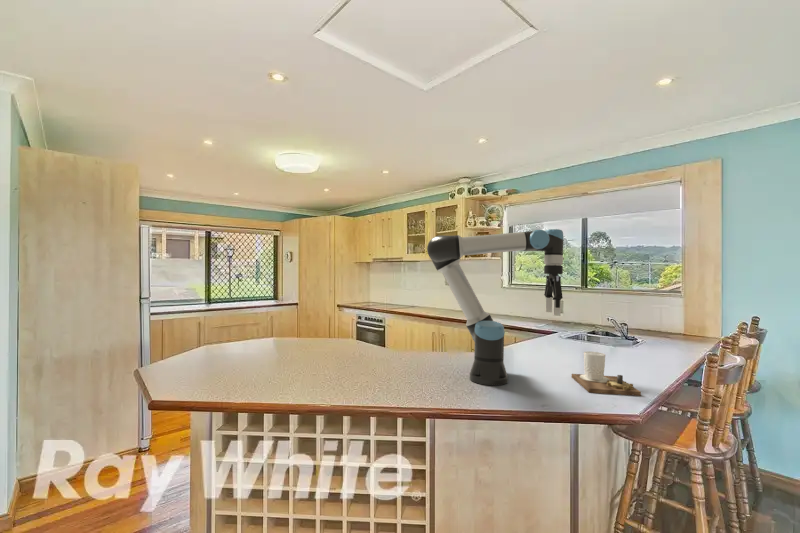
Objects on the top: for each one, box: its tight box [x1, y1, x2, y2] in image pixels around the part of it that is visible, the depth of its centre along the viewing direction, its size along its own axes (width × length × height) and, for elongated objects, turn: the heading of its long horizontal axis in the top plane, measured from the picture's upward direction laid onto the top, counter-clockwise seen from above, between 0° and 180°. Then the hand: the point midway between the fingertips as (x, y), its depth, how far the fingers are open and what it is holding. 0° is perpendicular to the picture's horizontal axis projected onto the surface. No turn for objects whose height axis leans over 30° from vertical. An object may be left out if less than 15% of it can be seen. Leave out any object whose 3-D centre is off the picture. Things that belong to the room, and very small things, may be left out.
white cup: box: [583, 351, 606, 380], centre depth 154 cm, size 8×8×10 cm
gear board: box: [571, 373, 642, 397], centre depth 150 cm, size 18×21×6 cm
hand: (552, 313), depth 164 cm, fingers open, 13 cm apart
